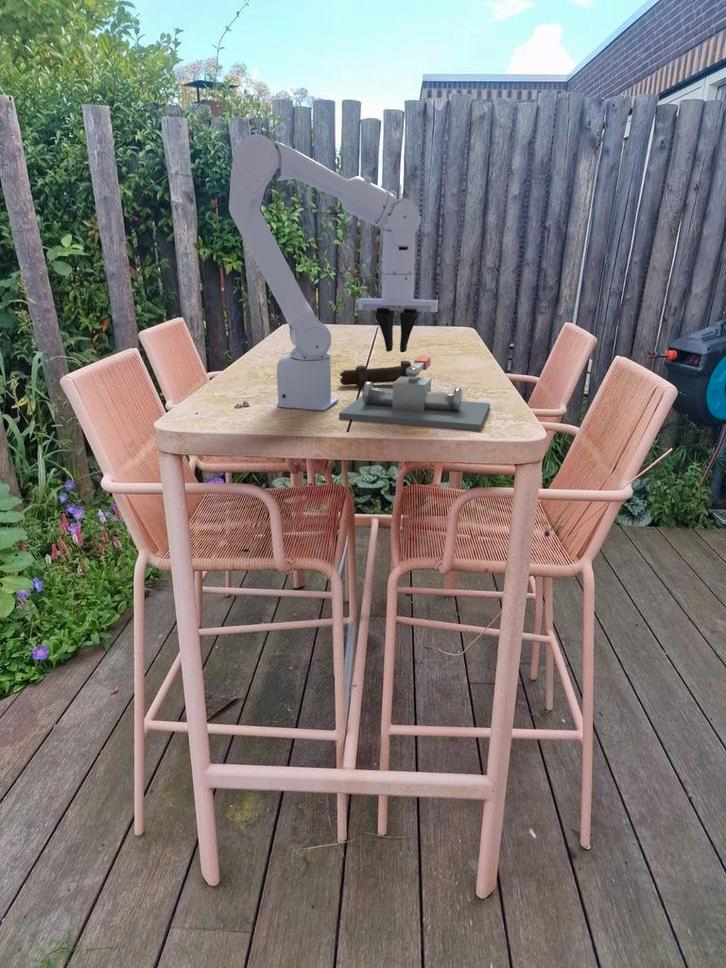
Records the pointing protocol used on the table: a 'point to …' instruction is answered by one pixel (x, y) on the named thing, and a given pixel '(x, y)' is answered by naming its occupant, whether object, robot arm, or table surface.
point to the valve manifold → (412, 396)
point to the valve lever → (419, 365)
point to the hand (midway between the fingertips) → (396, 351)
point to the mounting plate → (420, 415)
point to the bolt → (374, 374)
